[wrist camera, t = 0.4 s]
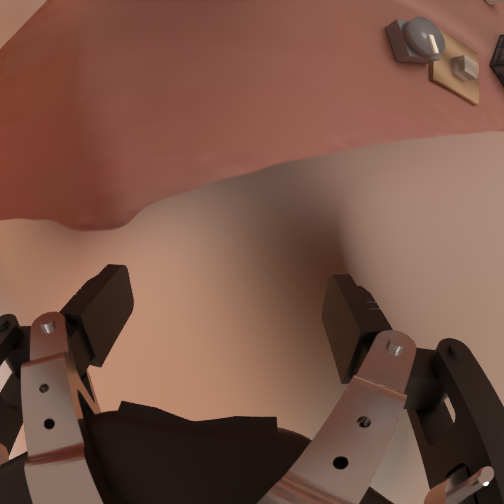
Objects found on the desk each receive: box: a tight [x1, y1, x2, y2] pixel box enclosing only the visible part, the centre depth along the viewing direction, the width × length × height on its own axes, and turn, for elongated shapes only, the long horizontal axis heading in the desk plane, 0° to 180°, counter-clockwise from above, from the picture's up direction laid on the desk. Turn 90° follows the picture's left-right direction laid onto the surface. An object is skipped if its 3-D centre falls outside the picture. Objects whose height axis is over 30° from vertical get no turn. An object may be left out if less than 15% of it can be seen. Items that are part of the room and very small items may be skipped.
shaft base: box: [429, 28, 479, 105], centre depth 24 cm, size 11×11×5 cm
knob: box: [385, 17, 445, 64], centre depth 23 cm, size 6×6×7 cm
